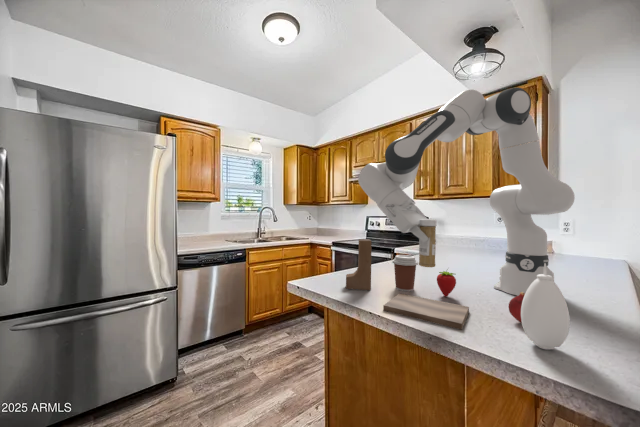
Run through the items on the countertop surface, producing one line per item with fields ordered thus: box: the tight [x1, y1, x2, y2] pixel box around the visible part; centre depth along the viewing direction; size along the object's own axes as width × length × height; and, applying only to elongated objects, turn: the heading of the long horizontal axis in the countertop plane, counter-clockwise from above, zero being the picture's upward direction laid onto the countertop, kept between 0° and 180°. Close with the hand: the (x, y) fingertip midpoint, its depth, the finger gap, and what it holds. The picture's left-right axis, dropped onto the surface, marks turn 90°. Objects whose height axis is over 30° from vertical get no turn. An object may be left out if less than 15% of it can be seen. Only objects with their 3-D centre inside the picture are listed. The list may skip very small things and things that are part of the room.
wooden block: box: [345, 238, 372, 291], centre depth 96 cm, size 9×4×18 cm, turn 84°
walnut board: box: [382, 292, 470, 331], centre depth 74 cm, size 14×20×2 cm
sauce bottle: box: [521, 263, 571, 351], centre depth 55 cm, size 8×8×18 cm
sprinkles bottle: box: [418, 218, 437, 268], centre depth 74 cm, size 5×5×14 cm
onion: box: [508, 292, 525, 324], centre depth 67 cm, size 6×6×8 cm
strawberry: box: [436, 268, 457, 298], centre depth 88 cm, size 6×8×10 cm
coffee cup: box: [391, 254, 419, 292], centre depth 96 cm, size 9×9×12 cm
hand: (429, 240), depth 74 cm, fingers closed on sprinkles bottle, 4 cm apart
